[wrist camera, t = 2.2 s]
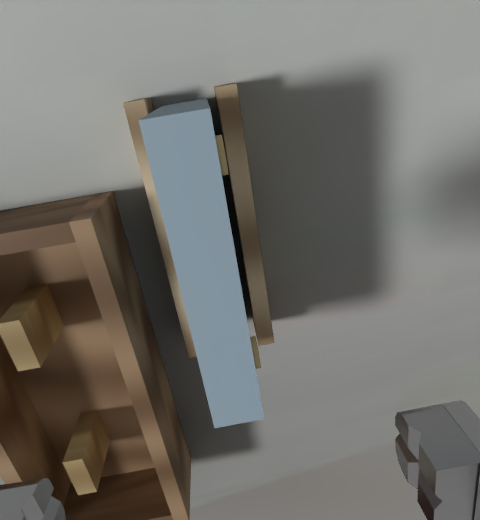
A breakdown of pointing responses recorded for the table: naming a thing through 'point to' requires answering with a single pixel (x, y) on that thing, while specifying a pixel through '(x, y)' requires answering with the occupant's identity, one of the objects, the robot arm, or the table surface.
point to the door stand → (242, 205)
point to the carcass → (84, 368)
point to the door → (204, 254)
